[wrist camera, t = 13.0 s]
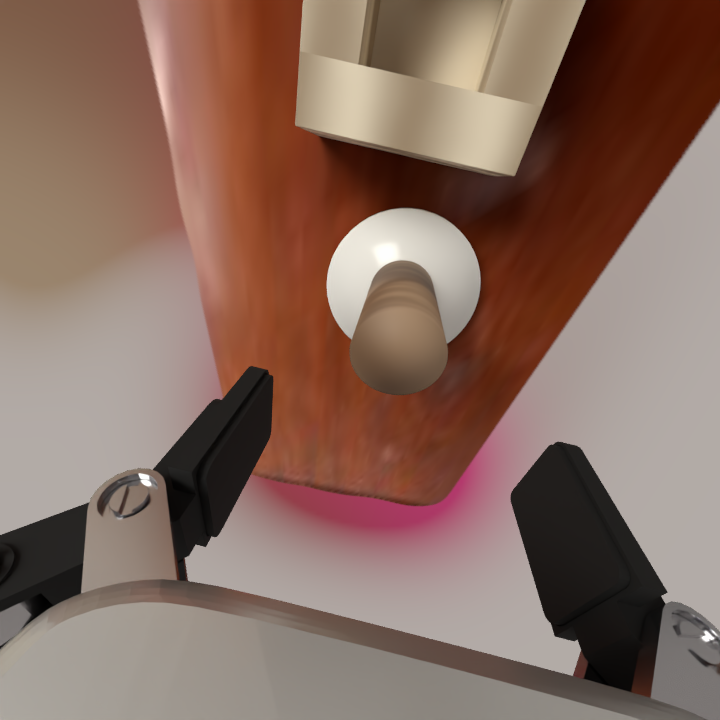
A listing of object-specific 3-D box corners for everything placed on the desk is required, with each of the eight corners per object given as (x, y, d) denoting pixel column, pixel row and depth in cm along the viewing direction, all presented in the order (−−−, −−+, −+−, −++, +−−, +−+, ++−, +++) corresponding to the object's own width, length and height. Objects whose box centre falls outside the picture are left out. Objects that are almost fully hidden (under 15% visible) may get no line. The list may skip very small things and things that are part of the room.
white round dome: (434, 169, 20) (435, 169, 19) (501, 311, 25) (505, 317, 24) (301, 264, 25) (297, 268, 24) (378, 370, 30) (377, 377, 29)
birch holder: (603, -124, 14) (689, -256, 10) (492, 176, 20) (514, 176, 16) (349, -180, 14) (324, -335, 10) (318, 135, 20) (295, 125, 16)
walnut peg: (414, 247, 22) (417, 290, 14) (444, 302, 24) (464, 372, 15) (357, 282, 24) (330, 339, 16) (390, 331, 26) (381, 407, 17)
